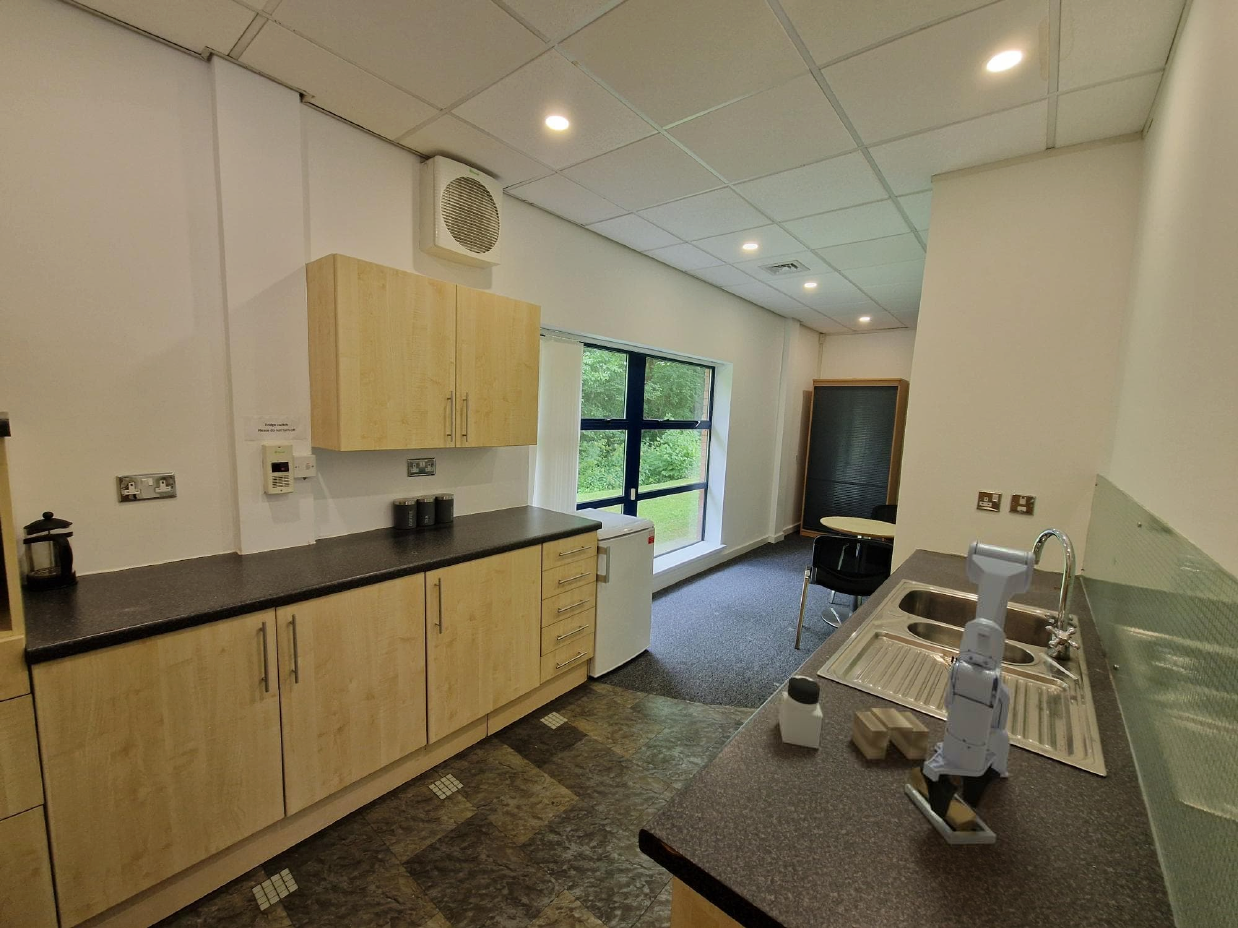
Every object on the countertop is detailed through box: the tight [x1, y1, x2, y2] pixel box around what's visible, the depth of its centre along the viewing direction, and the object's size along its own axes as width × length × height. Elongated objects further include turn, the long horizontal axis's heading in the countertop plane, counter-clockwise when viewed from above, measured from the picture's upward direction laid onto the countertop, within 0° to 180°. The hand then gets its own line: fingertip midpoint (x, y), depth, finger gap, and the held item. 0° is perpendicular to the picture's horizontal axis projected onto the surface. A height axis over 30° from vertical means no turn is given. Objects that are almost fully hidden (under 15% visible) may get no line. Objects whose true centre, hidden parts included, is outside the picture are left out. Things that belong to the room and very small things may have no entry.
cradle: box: [904, 783, 997, 845], centre depth 84 cm, size 8×11×1 cm
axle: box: [907, 766, 977, 832], centre depth 85 cm, size 10×4×4 cm, turn 14°
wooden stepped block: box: [850, 707, 930, 760], centre depth 100 cm, size 12×6×7 cm, turn 95°
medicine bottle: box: [778, 675, 824, 750], centre depth 102 cm, size 7×7×12 cm
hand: (953, 808), depth 82 cm, fingers open, 7 cm apart
